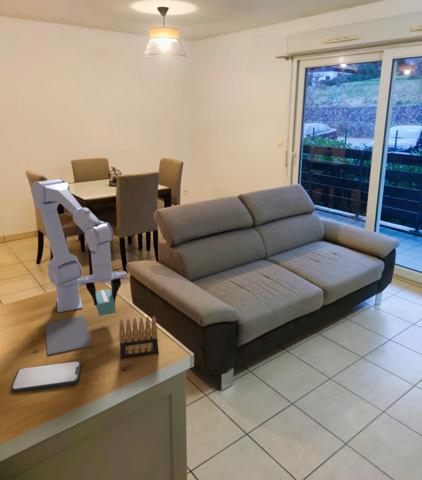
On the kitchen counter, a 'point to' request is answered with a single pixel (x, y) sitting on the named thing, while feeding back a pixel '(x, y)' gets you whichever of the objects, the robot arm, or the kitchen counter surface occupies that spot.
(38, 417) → the kitchen counter surface
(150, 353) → the ammunition clip
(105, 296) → the card box
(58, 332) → the mat
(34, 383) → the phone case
